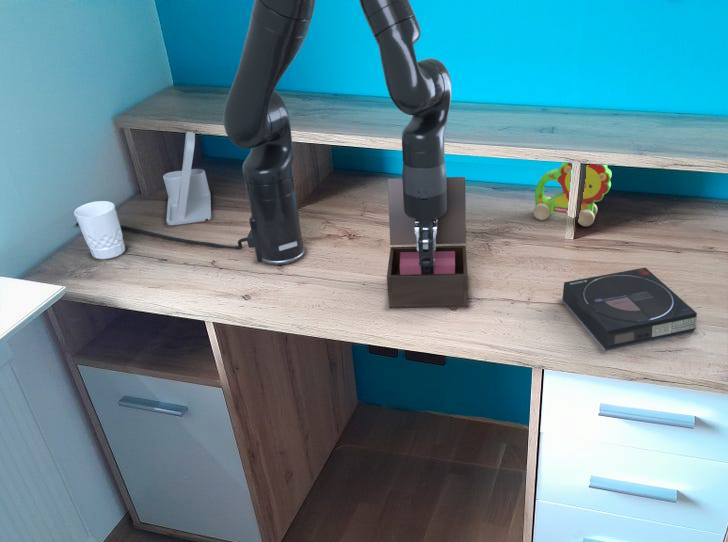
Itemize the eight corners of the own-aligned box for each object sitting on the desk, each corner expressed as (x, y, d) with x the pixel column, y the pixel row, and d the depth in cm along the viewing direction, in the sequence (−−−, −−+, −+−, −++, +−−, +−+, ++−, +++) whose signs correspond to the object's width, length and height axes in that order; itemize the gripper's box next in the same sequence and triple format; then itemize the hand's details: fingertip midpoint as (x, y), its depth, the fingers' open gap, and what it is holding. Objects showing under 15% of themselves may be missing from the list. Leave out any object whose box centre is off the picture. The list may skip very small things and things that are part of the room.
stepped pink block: (400, 282, 126) (399, 265, 124) (401, 268, 130) (400, 252, 128) (455, 281, 126) (455, 264, 124) (454, 267, 130) (454, 251, 128)
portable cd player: (606, 353, 114) (609, 333, 111) (562, 301, 127) (564, 282, 125) (694, 334, 117) (699, 315, 115) (642, 286, 130) (645, 267, 128)
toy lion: (531, 220, 155) (535, 153, 145) (537, 210, 159) (542, 144, 150) (603, 229, 150) (612, 161, 141) (607, 219, 154) (616, 152, 145)
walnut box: (467, 307, 126) (467, 275, 122) (389, 308, 127) (386, 276, 123) (465, 276, 135) (465, 245, 131) (392, 277, 136) (390, 246, 132)
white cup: (112, 240, 152) (97, 198, 147) (136, 248, 149) (122, 205, 143) (81, 255, 147) (65, 212, 141) (106, 264, 144) (90, 219, 138)
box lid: (465, 176, 128) (465, 176, 128) (387, 178, 128) (388, 178, 129) (466, 243, 131) (465, 243, 131) (390, 245, 131) (390, 244, 132)
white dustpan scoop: (169, 196, 171) (149, 123, 160) (211, 191, 173) (194, 118, 162) (166, 226, 158) (145, 148, 147) (212, 219, 160) (194, 142, 149)
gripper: (404, 171, 124) (409, 255, 134) (400, 204, 112) (406, 294, 122) (446, 170, 124) (447, 254, 134) (446, 203, 112) (448, 293, 122)
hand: (427, 273), depth 128 cm, fingers closed on stepped pink block, 5 cm apart
